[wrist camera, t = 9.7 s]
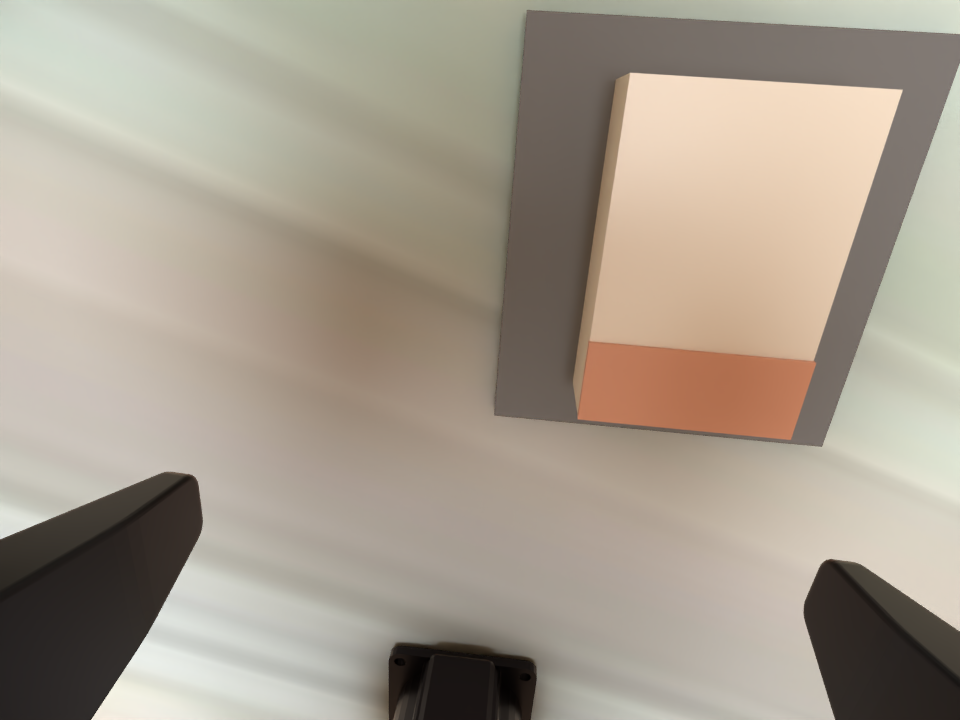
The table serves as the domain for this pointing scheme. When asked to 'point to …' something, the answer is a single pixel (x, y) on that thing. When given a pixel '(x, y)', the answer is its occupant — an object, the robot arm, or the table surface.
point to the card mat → (580, 160)
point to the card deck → (721, 247)
